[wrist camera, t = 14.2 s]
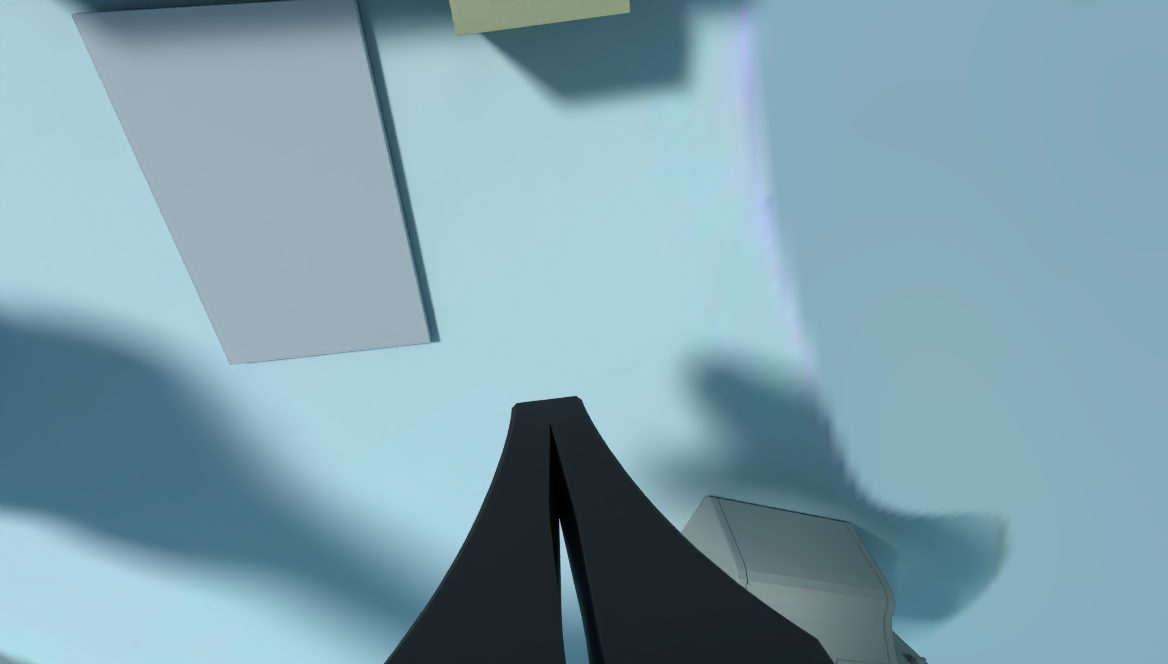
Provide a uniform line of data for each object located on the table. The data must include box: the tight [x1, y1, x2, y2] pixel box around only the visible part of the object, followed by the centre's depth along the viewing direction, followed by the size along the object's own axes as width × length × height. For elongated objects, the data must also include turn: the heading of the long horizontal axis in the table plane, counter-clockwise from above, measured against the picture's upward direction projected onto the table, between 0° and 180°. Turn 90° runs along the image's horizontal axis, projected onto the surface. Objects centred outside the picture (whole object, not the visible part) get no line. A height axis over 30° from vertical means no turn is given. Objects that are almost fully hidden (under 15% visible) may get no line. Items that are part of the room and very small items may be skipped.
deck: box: [71, 0, 431, 365], centre depth 19 cm, size 11×7×1 cm, turn 3°
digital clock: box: [681, 496, 928, 664], centre depth 27 cm, size 16×9×11 cm, turn 57°
